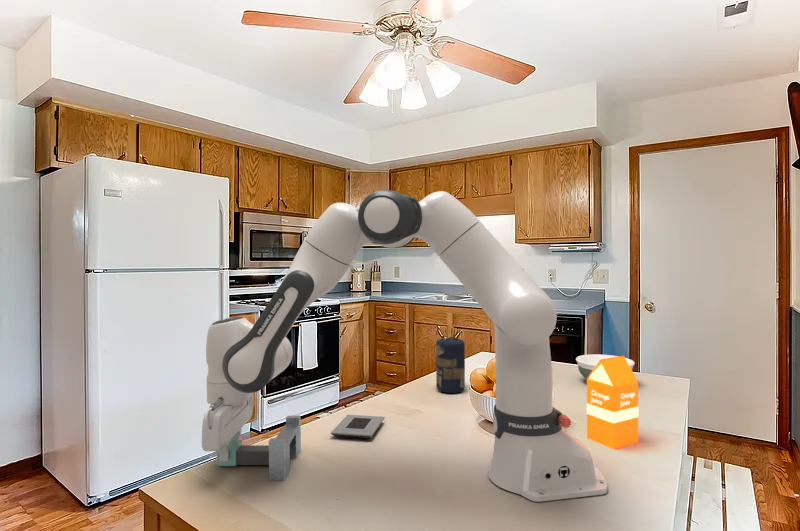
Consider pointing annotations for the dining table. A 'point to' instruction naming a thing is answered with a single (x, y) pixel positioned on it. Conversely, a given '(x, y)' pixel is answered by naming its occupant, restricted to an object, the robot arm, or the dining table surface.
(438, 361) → the canister
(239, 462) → the plug
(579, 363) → the bowl
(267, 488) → the dining table surface
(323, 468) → the dining table surface
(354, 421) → the electrical outlet
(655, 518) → the dining table surface
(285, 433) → the grey piece
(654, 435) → the dining table surface
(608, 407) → the orange juice
